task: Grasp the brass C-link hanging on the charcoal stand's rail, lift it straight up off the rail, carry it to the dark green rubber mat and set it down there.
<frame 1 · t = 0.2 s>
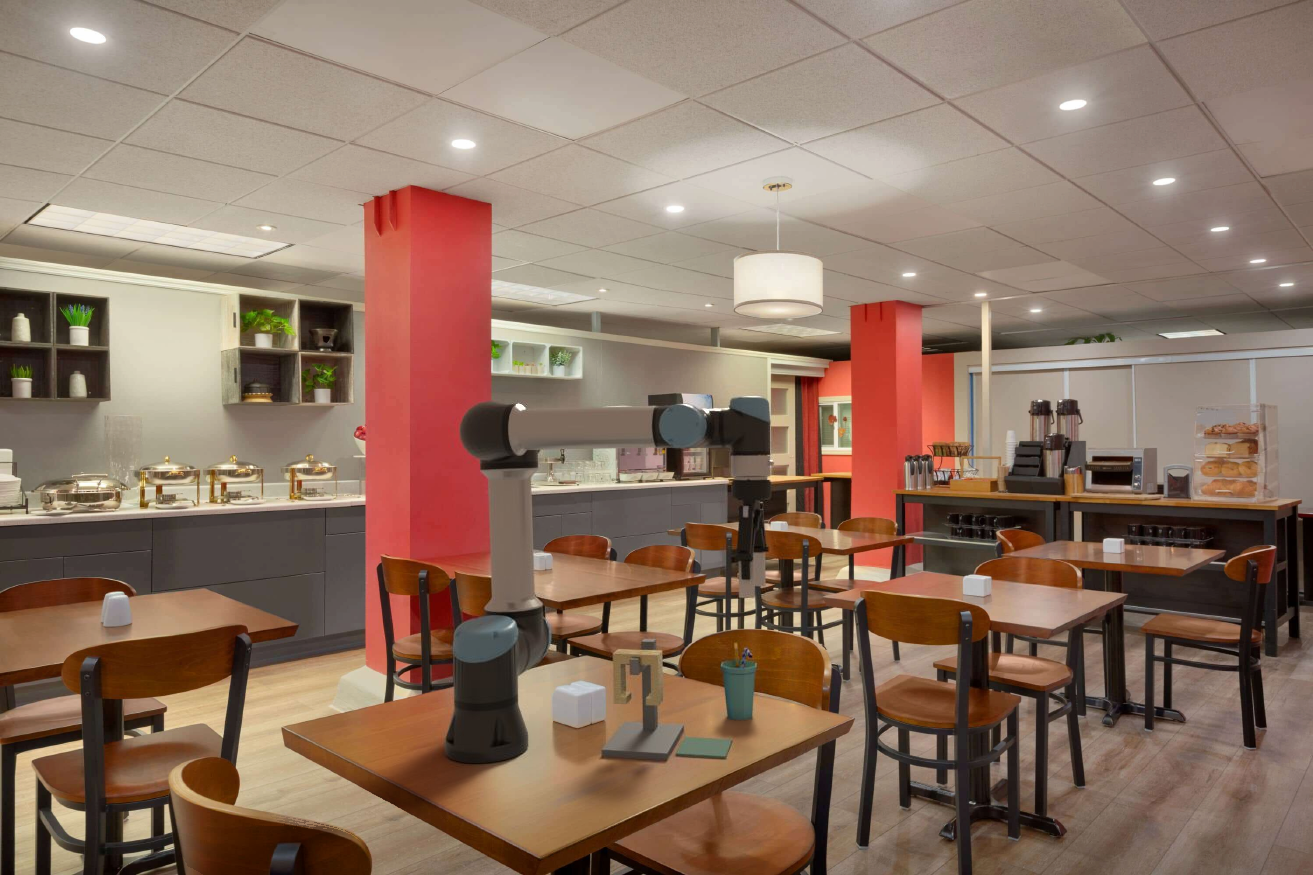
hand: (752, 591, 156), 28 cm above the table, fingers open, 13 cm apart
stand: (644, 742, 154), on the table
cup: (741, 718, 168), on the table
mat: (704, 748, 151), on the table
c link: (638, 701, 151), point 9 cm above the table, touching stand
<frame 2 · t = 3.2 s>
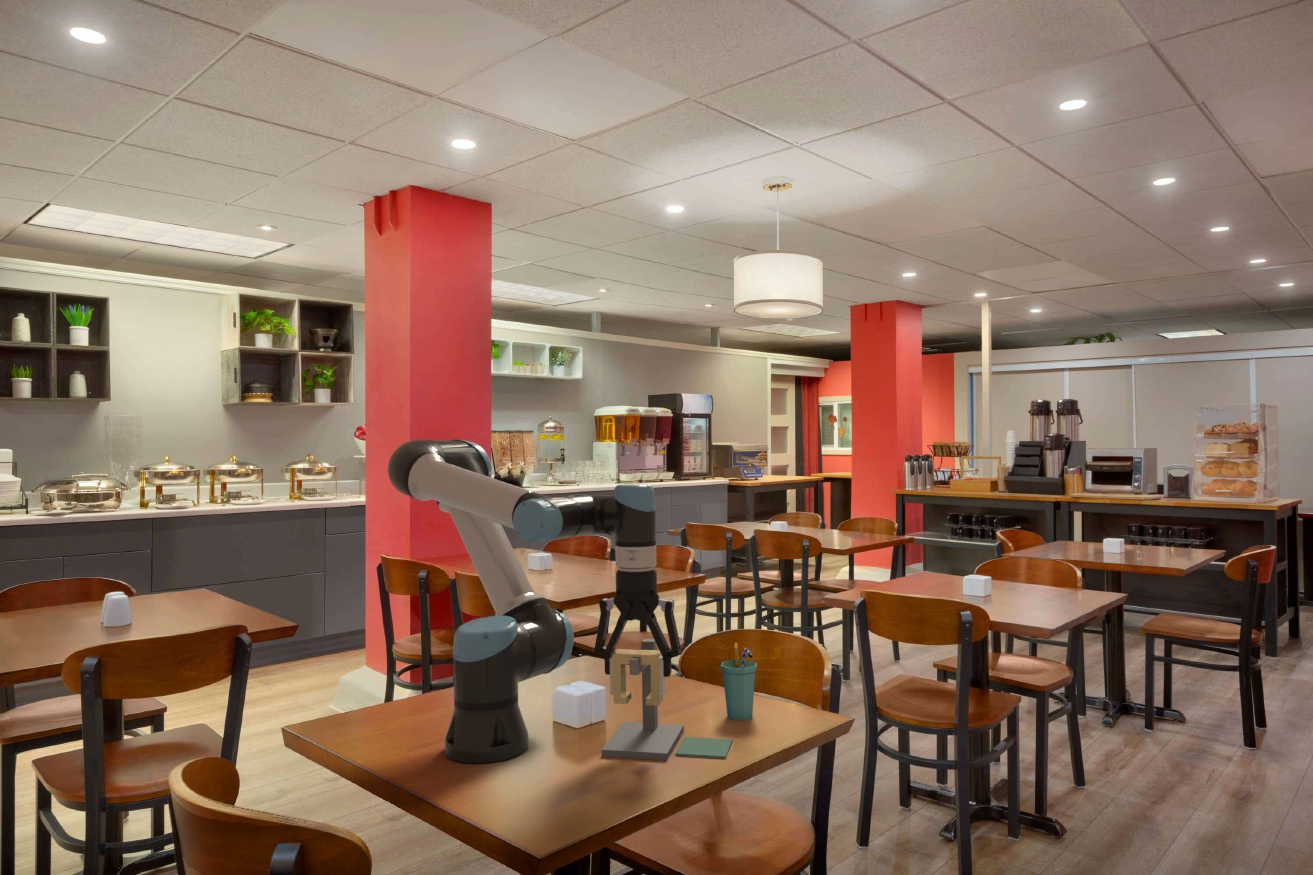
hand: (638, 693, 151), 10 cm above the table, fingers closed on c link, 8 cm apart
c link: (638, 701, 151), point 9 cm above the table, touching gripper, stand
everything else where it was.
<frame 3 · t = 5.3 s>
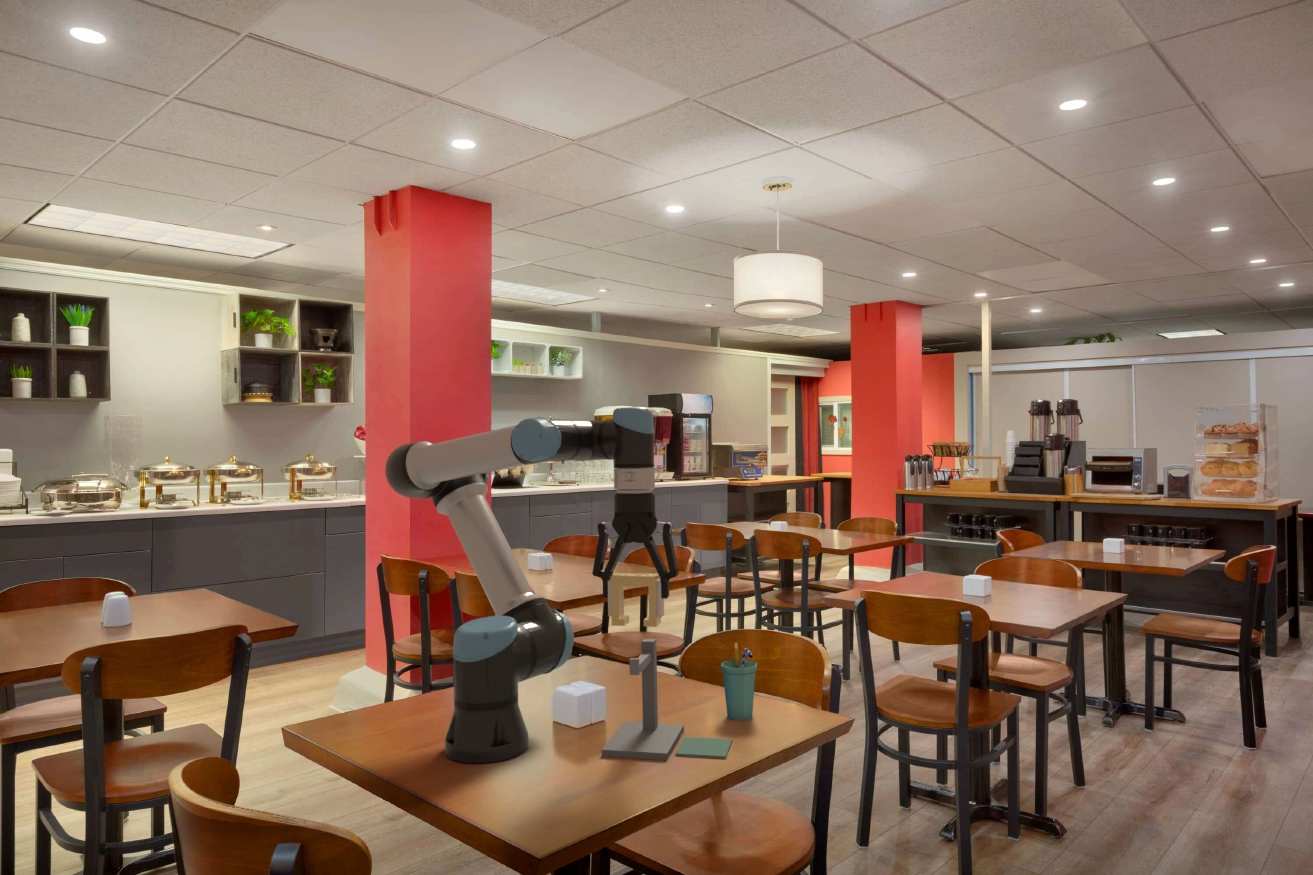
hand: (636, 615, 151), 24 cm above the table, fingers closed on c link, 8 cm apart
c link: (636, 624, 151), point 23 cm above the table, touching gripper
everything else where it was.
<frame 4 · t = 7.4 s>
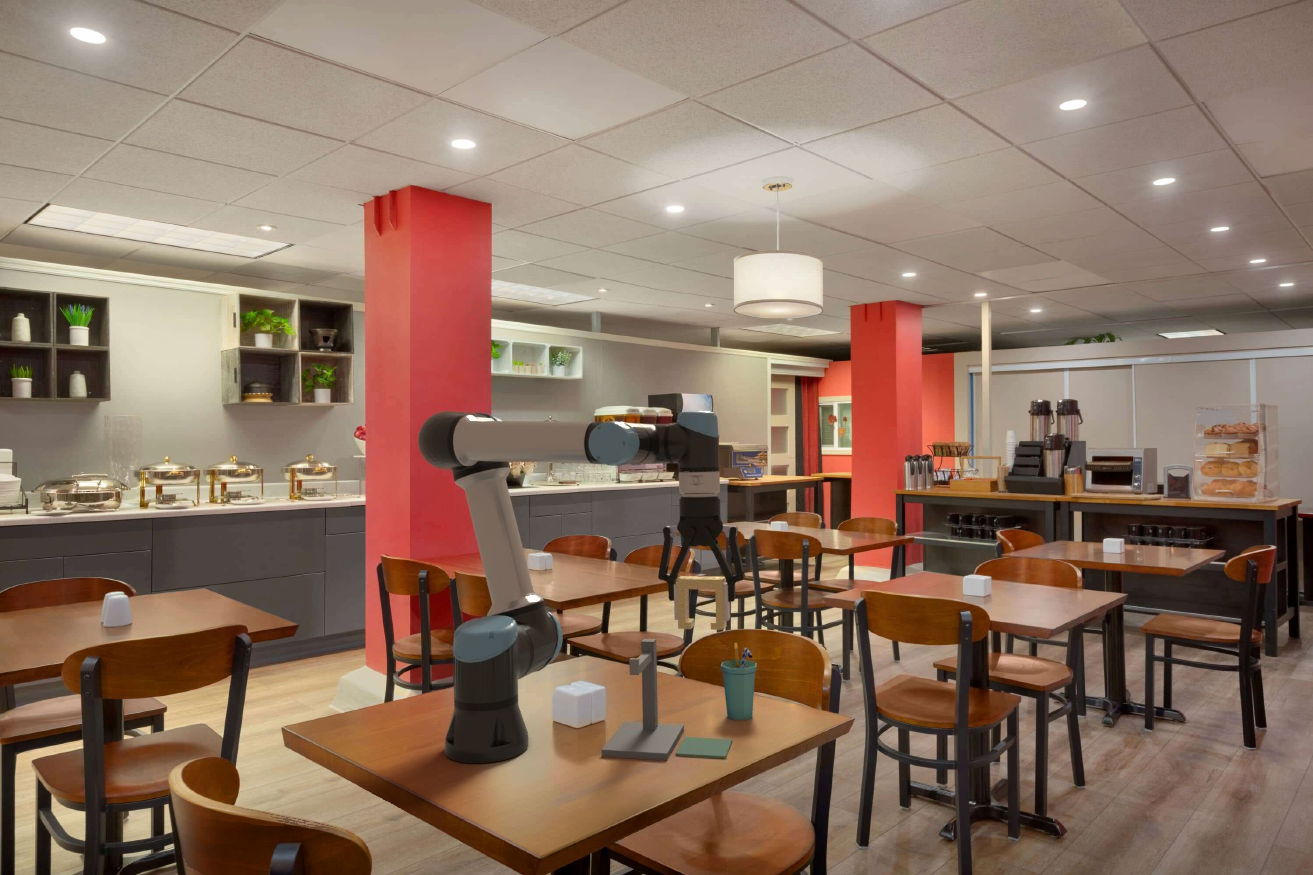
hand: (702, 618, 151), 24 cm above the table, fingers closed on c link, 8 cm apart
c link: (702, 627, 151), point 22 cm above the table, touching gripper
everything else where it was.
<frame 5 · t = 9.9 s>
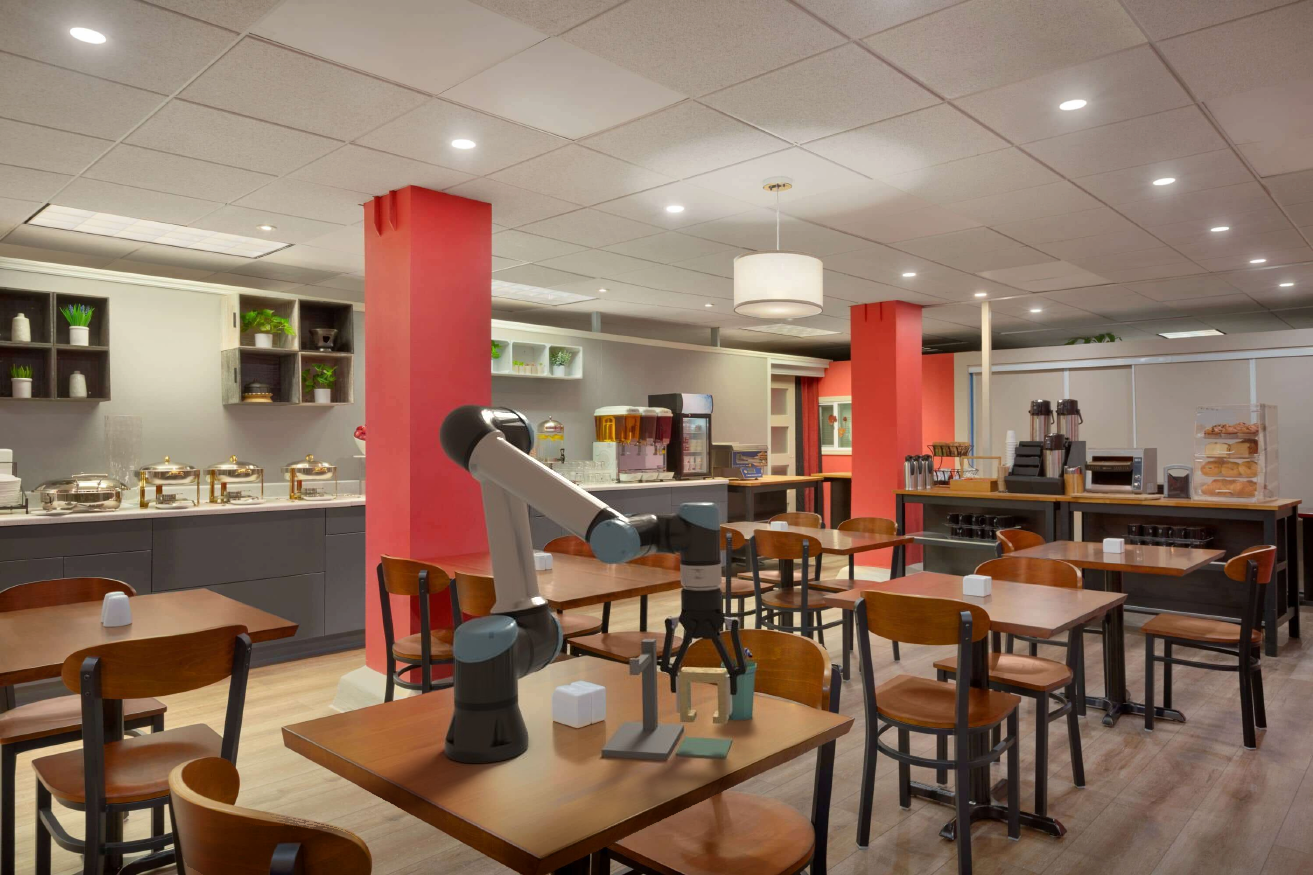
hand: (704, 711, 151), 7 cm above the table, fingers closed on c link, 8 cm apart
c link: (704, 719, 151), point 5 cm above the table, touching gripper
everything else where it was.
when the fingers open (3 cm above the table, at t = 11.8 s): c link drops 1 cm, resting on mat.
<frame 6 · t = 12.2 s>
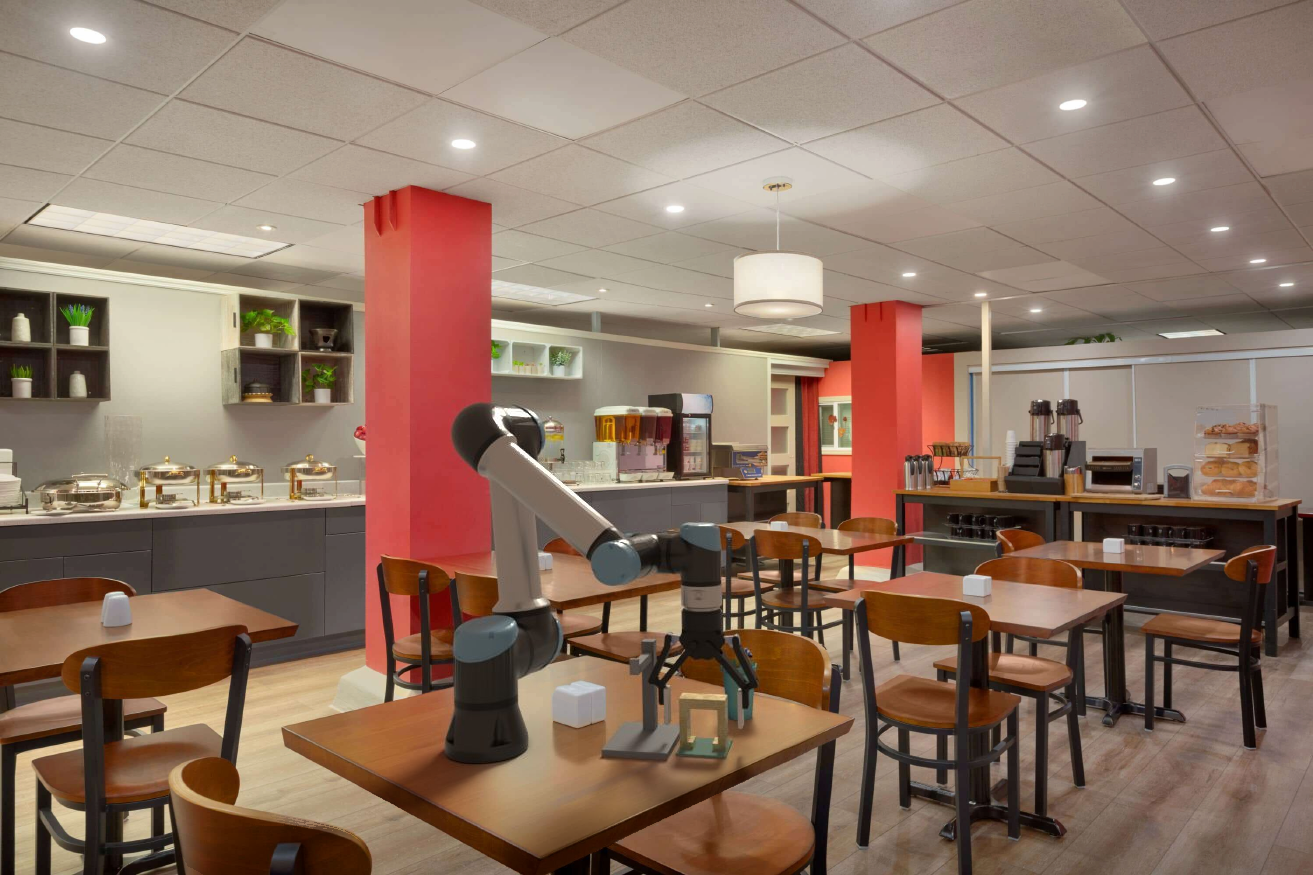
hand: (704, 724, 151), 4 cm above the table, fingers open, 13 cm apart
c link: (704, 746, 151), resting on mat
everything else where it was.
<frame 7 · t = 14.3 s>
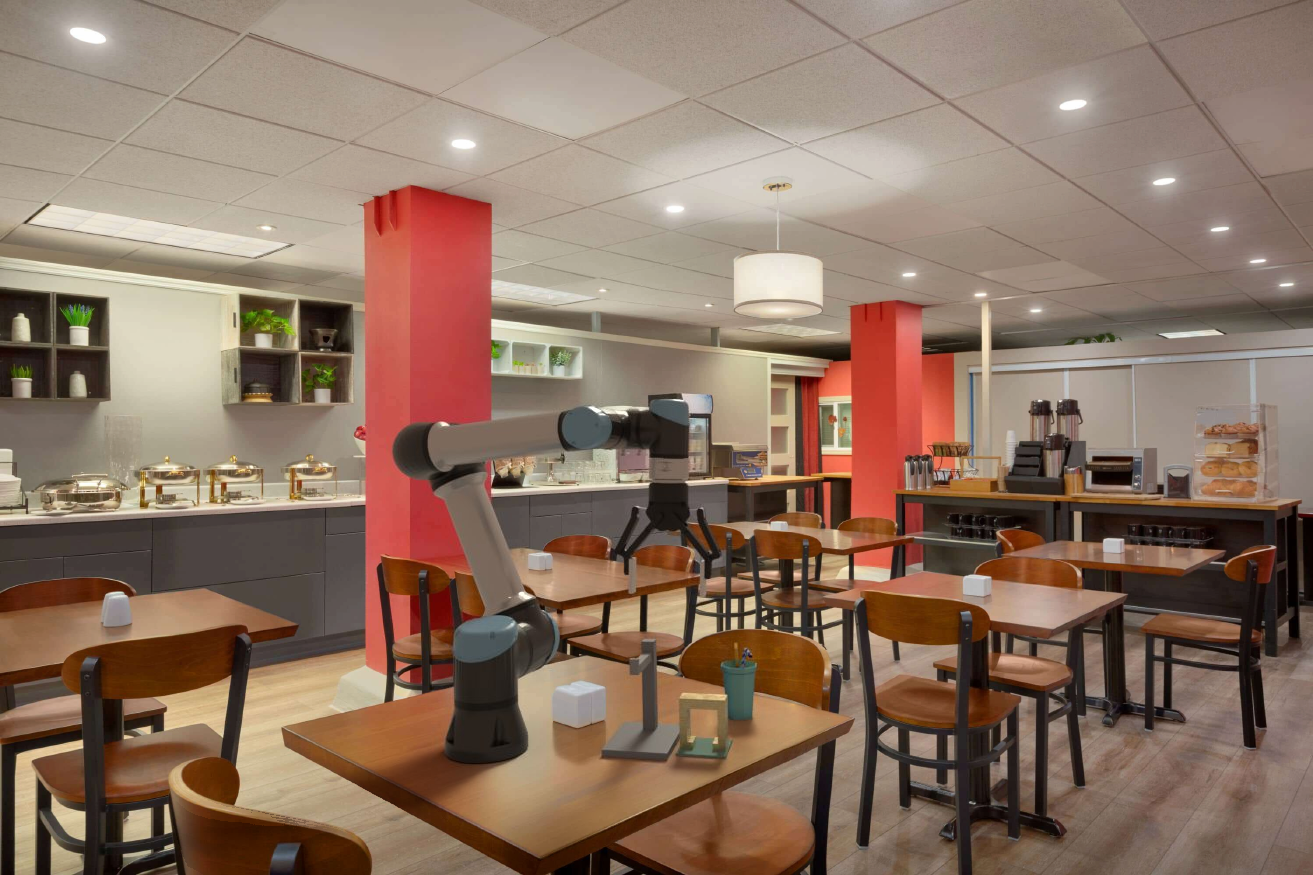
hand: (667, 594, 155), 27 cm above the table, fingers open, 13 cm apart
nothing on the table moved.
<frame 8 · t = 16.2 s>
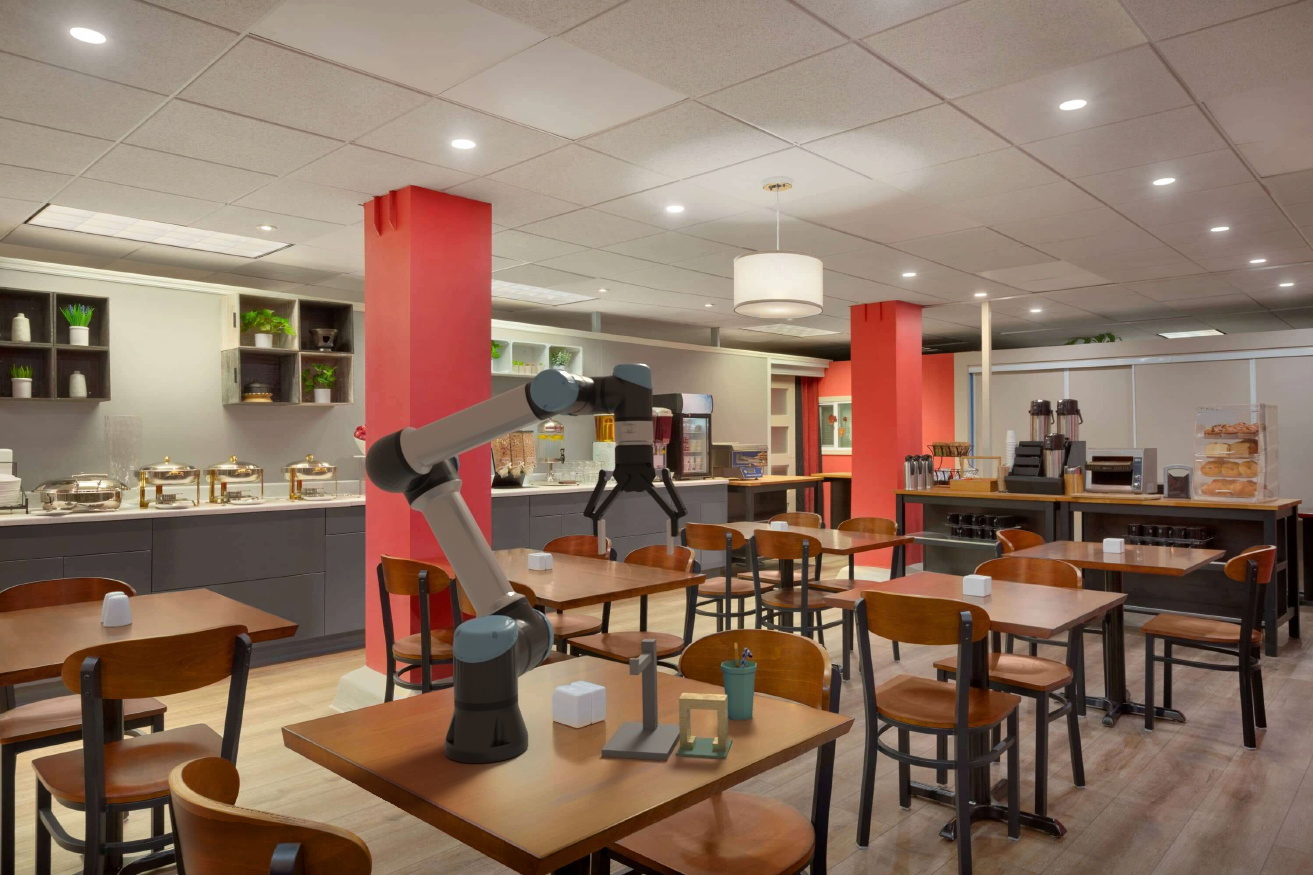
hand: (635, 554, 160), 35 cm above the table, fingers open, 13 cm apart
nothing on the table moved.
at the end: c link inside the target area (0.0 cm from its centre), resting on mat; c link touching mat; the gripper is holding nothing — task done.
